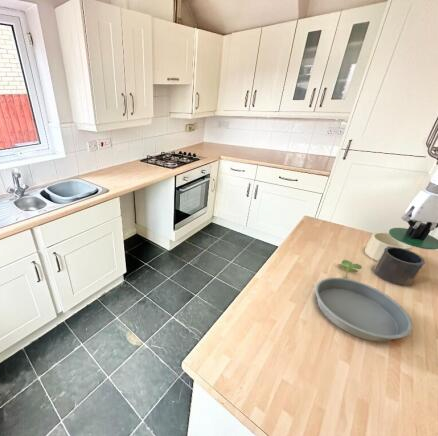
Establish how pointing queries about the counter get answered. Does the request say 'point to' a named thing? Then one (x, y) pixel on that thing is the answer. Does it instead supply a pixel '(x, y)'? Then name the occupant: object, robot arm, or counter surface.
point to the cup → (398, 265)
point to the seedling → (350, 266)
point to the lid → (415, 238)
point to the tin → (382, 244)
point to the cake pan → (362, 310)
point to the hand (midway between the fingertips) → (414, 236)
